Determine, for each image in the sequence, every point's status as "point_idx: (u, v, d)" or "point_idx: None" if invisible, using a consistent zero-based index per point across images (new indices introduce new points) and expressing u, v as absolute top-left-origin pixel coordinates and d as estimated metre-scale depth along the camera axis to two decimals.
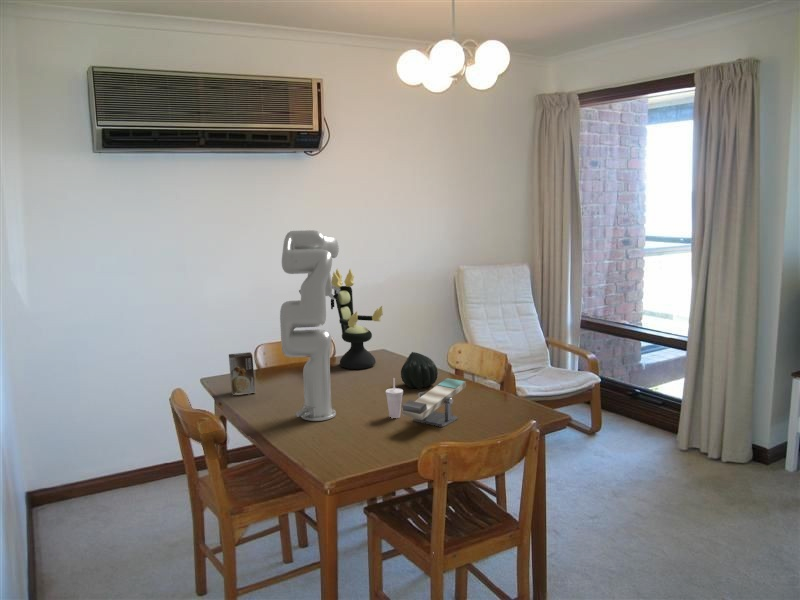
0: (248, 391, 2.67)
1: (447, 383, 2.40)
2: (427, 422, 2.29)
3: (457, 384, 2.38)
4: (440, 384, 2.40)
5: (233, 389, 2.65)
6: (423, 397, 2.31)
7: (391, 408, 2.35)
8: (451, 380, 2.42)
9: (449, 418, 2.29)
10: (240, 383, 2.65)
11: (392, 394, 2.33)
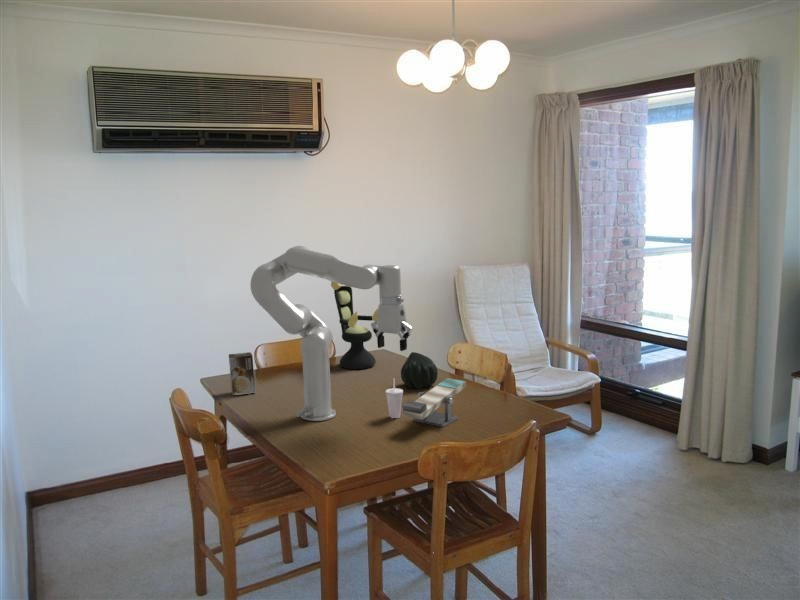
0: (248, 391, 2.67)
1: (447, 383, 2.40)
2: (427, 422, 2.29)
3: (457, 384, 2.38)
4: (440, 384, 2.40)
5: (233, 389, 2.65)
6: (423, 397, 2.31)
7: (391, 408, 2.35)
8: (451, 380, 2.42)
9: (449, 418, 2.29)
10: (240, 383, 2.65)
11: (392, 394, 2.33)
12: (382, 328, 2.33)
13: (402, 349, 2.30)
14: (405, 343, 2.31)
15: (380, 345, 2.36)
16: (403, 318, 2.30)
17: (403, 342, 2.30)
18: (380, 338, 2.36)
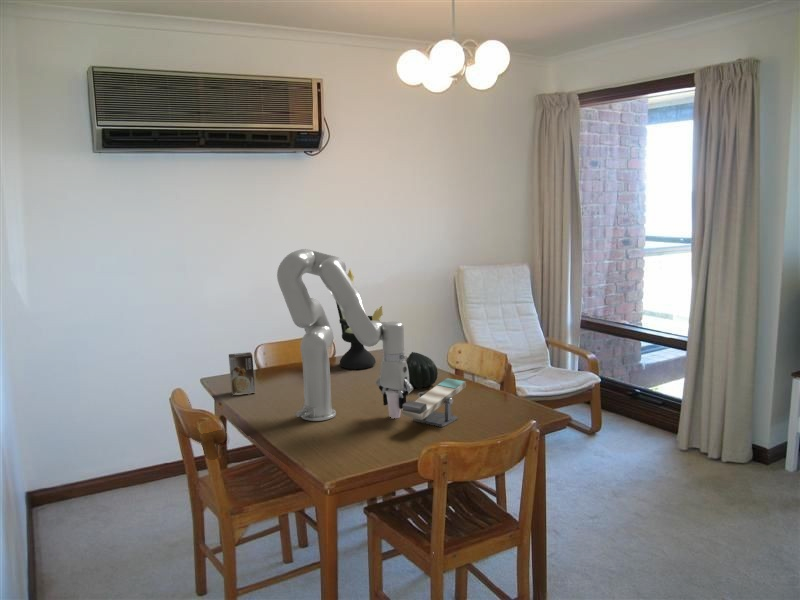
0: (248, 391, 2.67)
1: (447, 383, 2.40)
2: (427, 422, 2.29)
3: (457, 384, 2.38)
4: (440, 384, 2.40)
5: (233, 389, 2.65)
6: (423, 397, 2.31)
7: (391, 408, 2.35)
8: (451, 380, 2.42)
9: (449, 418, 2.29)
10: (240, 383, 2.65)
11: (392, 394, 2.33)
12: (385, 384, 2.35)
13: (401, 407, 2.33)
14: (404, 401, 2.33)
15: (386, 402, 2.37)
16: (406, 375, 2.32)
17: (402, 400, 2.33)
18: (386, 396, 2.37)
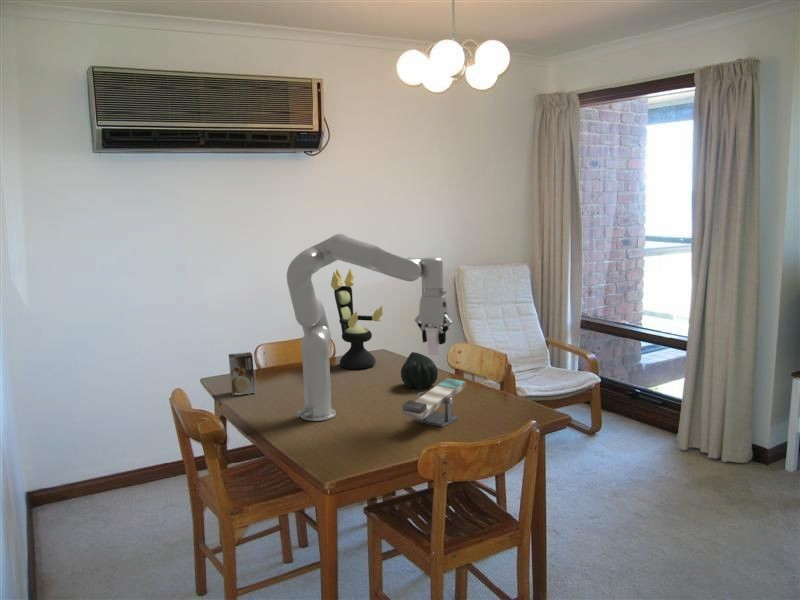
0: (248, 391, 2.67)
1: (447, 383, 2.40)
2: (427, 422, 2.29)
3: (457, 384, 2.38)
4: (440, 384, 2.40)
5: (233, 389, 2.65)
6: (423, 397, 2.31)
7: (430, 344, 2.34)
8: (451, 380, 2.42)
9: (449, 418, 2.29)
10: (240, 383, 2.65)
11: (432, 329, 2.32)
12: (424, 320, 2.34)
13: (441, 343, 2.33)
14: (444, 337, 2.33)
15: (425, 339, 2.37)
16: (445, 310, 2.32)
17: (442, 336, 2.33)
18: (425, 332, 2.37)
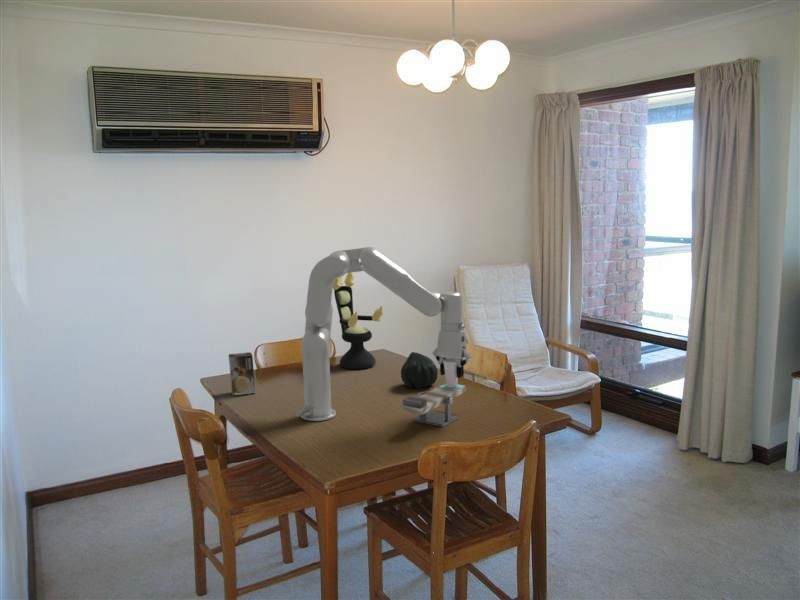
0: (248, 391, 2.67)
1: None
2: (427, 422, 2.29)
3: (457, 387, 2.38)
4: (440, 387, 2.40)
5: (233, 389, 2.65)
6: (423, 396, 2.31)
7: (449, 378, 2.38)
8: None
9: (449, 418, 2.29)
10: (240, 383, 2.65)
11: (450, 363, 2.36)
12: (442, 353, 2.38)
13: (459, 376, 2.37)
14: (462, 370, 2.37)
15: (443, 372, 2.41)
16: (464, 344, 2.35)
17: (460, 369, 2.36)
18: (443, 366, 2.40)
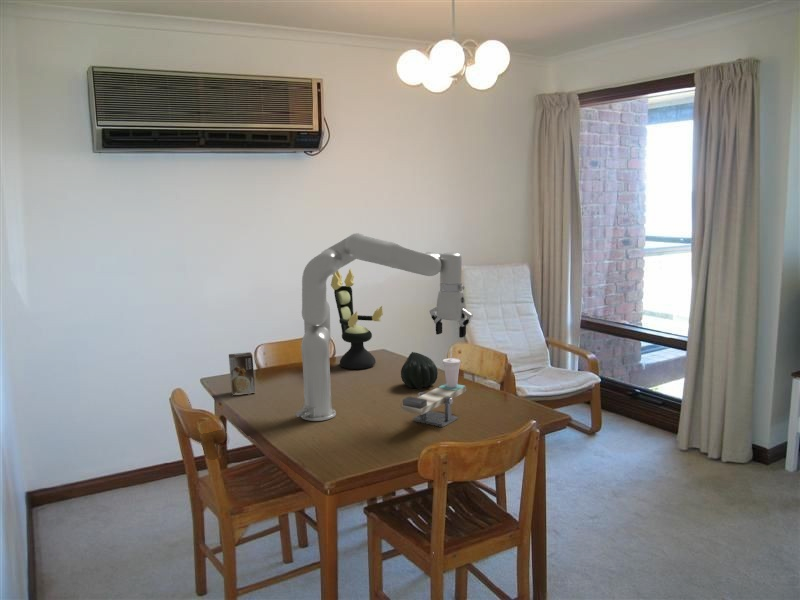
0: (248, 391, 2.67)
1: None
2: (427, 422, 2.29)
3: (457, 387, 2.38)
4: (440, 387, 2.40)
5: (233, 389, 2.65)
6: (423, 396, 2.31)
7: (448, 378, 2.38)
8: None
9: (449, 418, 2.29)
10: (240, 383, 2.65)
11: (450, 363, 2.36)
12: (441, 315, 2.36)
13: (461, 336, 2.33)
14: (464, 330, 2.33)
15: (438, 332, 2.39)
16: (463, 305, 2.33)
17: (462, 329, 2.33)
18: (439, 325, 2.39)
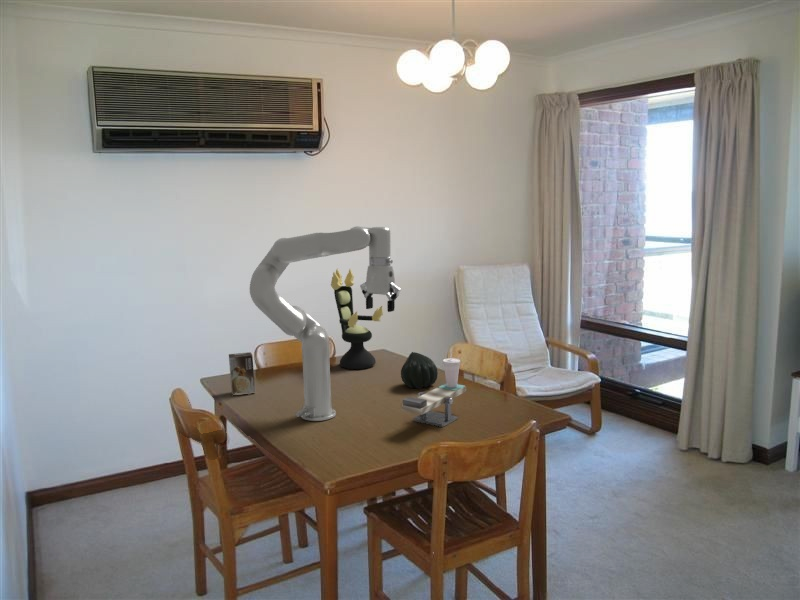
0: (248, 391, 2.67)
1: None
2: (427, 422, 2.29)
3: (457, 387, 2.38)
4: (440, 387, 2.40)
5: (233, 389, 2.65)
6: (423, 396, 2.31)
7: (448, 378, 2.38)
8: None
9: (449, 418, 2.29)
10: (240, 383, 2.65)
11: (450, 363, 2.36)
12: (371, 289, 2.36)
13: (389, 310, 2.33)
14: (393, 304, 2.33)
15: (368, 306, 2.39)
16: (391, 279, 2.33)
17: (391, 303, 2.33)
18: (369, 299, 2.39)
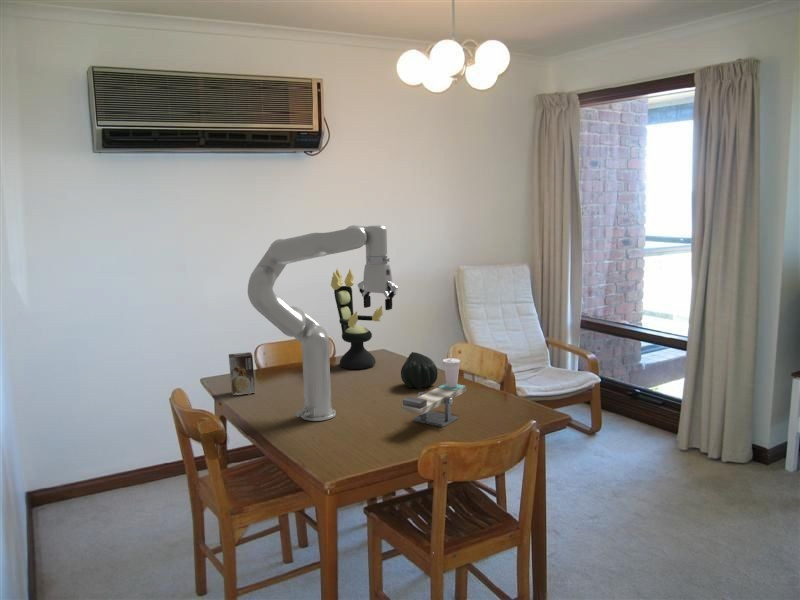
0: (248, 391, 2.67)
1: None
2: (427, 422, 2.29)
3: (457, 387, 2.38)
4: (440, 387, 2.40)
5: (233, 389, 2.65)
6: (423, 396, 2.31)
7: (448, 378, 2.38)
8: None
9: (449, 418, 2.29)
10: (240, 383, 2.65)
11: (450, 363, 2.36)
12: (368, 288, 2.36)
13: (387, 308, 2.33)
14: (390, 302, 2.33)
15: (366, 305, 2.39)
16: (389, 278, 2.33)
17: (388, 301, 2.33)
18: (366, 298, 2.39)
